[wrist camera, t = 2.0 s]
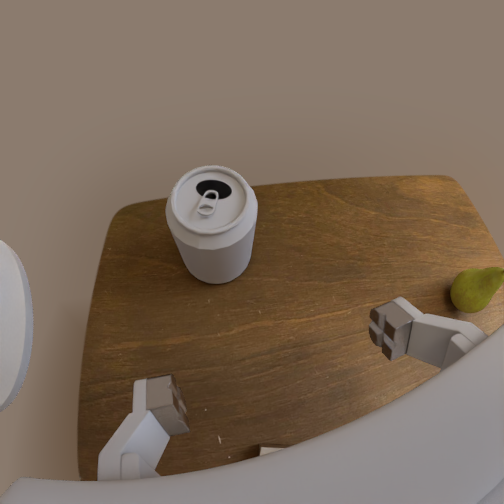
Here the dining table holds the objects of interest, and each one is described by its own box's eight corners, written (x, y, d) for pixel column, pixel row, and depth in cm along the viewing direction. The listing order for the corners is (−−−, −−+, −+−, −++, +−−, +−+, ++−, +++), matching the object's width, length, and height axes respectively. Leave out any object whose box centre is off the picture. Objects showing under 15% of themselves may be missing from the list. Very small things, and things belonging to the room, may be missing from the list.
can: (256, 230, 35) (267, 166, 24) (242, 292, 32) (248, 250, 21) (194, 218, 35) (179, 151, 24) (175, 277, 32) (147, 229, 21)
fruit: (475, 300, 33) (535, 273, 22) (456, 327, 32) (521, 304, 20) (455, 269, 35) (512, 233, 24) (435, 293, 33) (497, 261, 22)
